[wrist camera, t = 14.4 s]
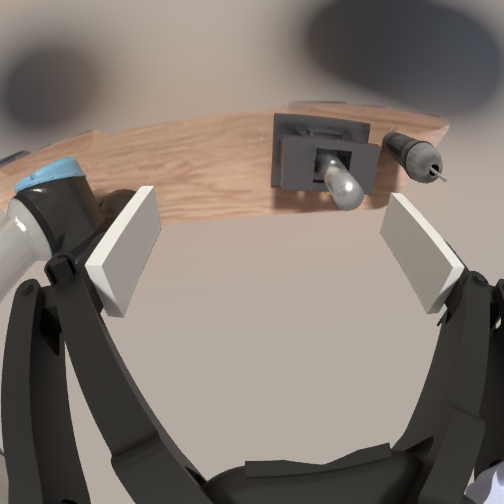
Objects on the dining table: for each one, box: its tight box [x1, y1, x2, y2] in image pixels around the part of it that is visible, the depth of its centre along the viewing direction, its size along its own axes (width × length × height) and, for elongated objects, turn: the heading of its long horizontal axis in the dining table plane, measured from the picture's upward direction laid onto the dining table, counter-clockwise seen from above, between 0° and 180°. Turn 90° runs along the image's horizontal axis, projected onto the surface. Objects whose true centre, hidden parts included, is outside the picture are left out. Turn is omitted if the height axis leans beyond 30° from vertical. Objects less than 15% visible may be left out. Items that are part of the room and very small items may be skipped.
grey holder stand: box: [271, 113, 380, 195], centre depth 45 cm, size 18×14×8 cm
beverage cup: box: [383, 132, 447, 183], centre depth 38 cm, size 7×7×20 cm
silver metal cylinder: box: [315, 148, 364, 211], centre depth 40 cm, size 4×4×18 cm
